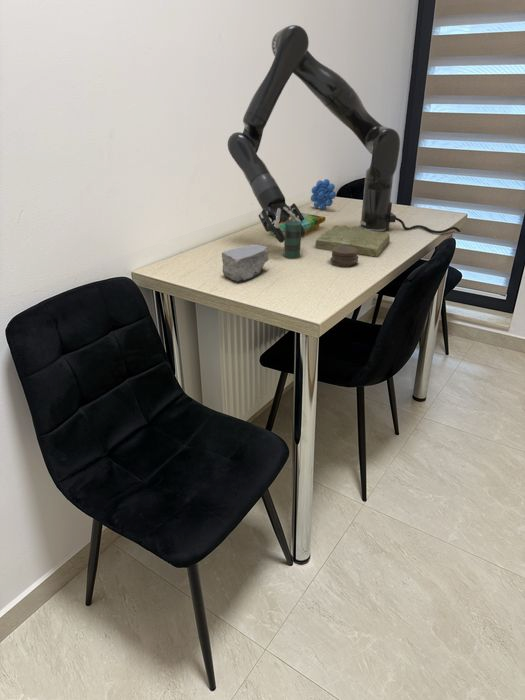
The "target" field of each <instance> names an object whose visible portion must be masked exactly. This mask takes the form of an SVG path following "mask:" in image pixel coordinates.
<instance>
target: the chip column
mask: <svg viewBox="0 0 525 700" xmlns="http://www.w3.org/2000/svg"><path fill="white" fill-rule="evenodd" d="M301 241H302V237H301V222H298V221H288V222H285V240H284V244H283V245H284V247H283V256H284V258H287V259H298V258H300V256H301Z"/></svg>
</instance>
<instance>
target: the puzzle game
mask: <svg viewBox="0 0 525 700" xmlns="http://www.w3.org/2000/svg"><path fill="white" fill-rule="evenodd" d="M301 214H302V216H303V217H304V220H303V221H302V222H301V225H302V226H303V228H304V230H305V235H306V234H308V233H311V232H314V231H316V230H317V229H318V228H319V226H320V224H322V223H325V221H326V219H327V218H326V217H325V216H322V215H316V214H312V213H311V214H310V213H305V212H301ZM297 217H298V218H299V216H297ZM290 218H291V216H290V215H289V219H290ZM293 221H295V220H293ZM267 225H268V224H267ZM278 228H280V230H281V231H282V233H283V235H284V237H285V222H281V223H279V227H278ZM268 233H269V235H270V236H275V235H274V233H273V232H271V231H269V232H268Z"/></svg>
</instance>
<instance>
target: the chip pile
mask: <svg viewBox="0 0 525 700" xmlns="http://www.w3.org/2000/svg"><path fill="white" fill-rule="evenodd" d="M331 251H332V252H331V257H330V260H329V263H330V264H331V265H333V266H335V267H340V268H341V267H342V268H346V267H353V266H354V265H355V264H356V263H358V262H359V256H358V250H357V249H356V248H354V247H350V246H337V247H334V248H333V250H331Z"/></svg>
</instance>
